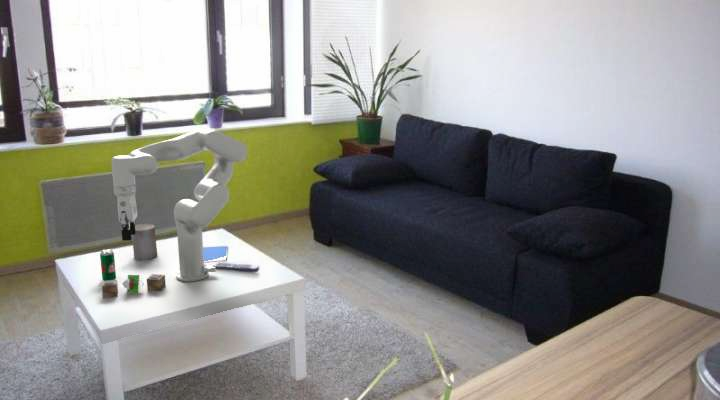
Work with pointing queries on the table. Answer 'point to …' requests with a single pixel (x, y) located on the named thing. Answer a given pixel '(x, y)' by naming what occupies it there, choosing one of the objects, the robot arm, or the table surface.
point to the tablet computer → (214, 252)
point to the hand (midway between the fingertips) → (129, 236)
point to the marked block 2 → (156, 283)
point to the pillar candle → (144, 242)
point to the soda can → (107, 265)
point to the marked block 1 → (109, 288)
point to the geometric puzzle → (132, 284)
